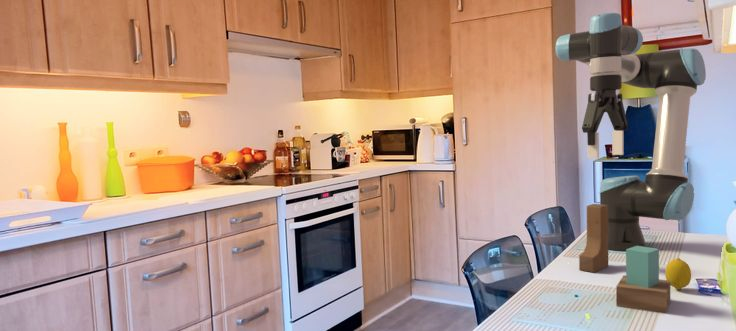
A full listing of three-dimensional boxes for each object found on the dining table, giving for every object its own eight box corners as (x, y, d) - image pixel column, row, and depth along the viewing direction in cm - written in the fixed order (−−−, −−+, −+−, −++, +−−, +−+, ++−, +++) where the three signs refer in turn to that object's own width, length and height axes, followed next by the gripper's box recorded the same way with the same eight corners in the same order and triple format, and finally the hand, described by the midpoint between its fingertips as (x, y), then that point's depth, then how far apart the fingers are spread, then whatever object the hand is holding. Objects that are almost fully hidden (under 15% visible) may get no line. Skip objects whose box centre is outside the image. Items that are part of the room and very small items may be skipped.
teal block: (637, 278, 128) (637, 245, 128) (658, 283, 124) (658, 249, 124) (626, 283, 125) (626, 249, 125) (648, 288, 121) (648, 252, 121)
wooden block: (594, 273, 150) (593, 209, 149) (578, 270, 154) (578, 207, 152) (608, 266, 156) (608, 204, 155) (593, 264, 160) (593, 203, 158)
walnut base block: (623, 295, 132) (623, 275, 132) (670, 301, 127) (670, 280, 126) (616, 307, 124) (616, 286, 123) (666, 315, 118) (666, 292, 118)
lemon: (660, 288, 135) (660, 257, 134) (676, 285, 137) (676, 254, 136) (679, 294, 130) (680, 262, 129) (696, 291, 132) (696, 259, 131)
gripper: (613, 77, 152) (613, 153, 153) (567, 74, 136) (567, 159, 137) (641, 75, 146) (641, 153, 148) (596, 72, 130) (596, 160, 132)
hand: (605, 156), depth 143 cm, fingers open, 13 cm apart
